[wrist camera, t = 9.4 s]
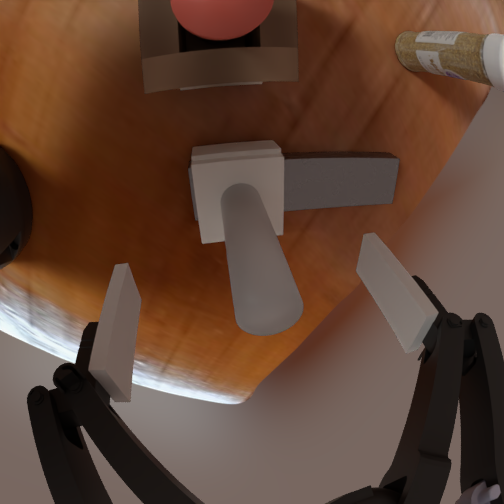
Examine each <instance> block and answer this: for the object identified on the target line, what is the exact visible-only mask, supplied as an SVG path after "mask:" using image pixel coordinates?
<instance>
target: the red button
mask: <svg viewBox="0 0 504 504" xmlns="http://www.w3.org/2000/svg"><path fill="white" fill-rule="evenodd" d="M170 2H171V8H172V11H173V13H174V15H175V17H176V19H177V20H178V22H179V23H180V24H181V25H182V26H183V27H184V28H185V29H186V30H187V31H189V32H190V33H192V34H194V35H196V36H197V37H198V38H199V39H200V40H202V41H204V42H206V43H210V44H221V43H224V42H227V41H229V40H230V39H235V38H238V37H241V36H243V35H245V34H247V33H249V32H251V31H252V30H254V29H255V28H256V27H257V26H259V25H260V24H261V23H262V22H263V21H264V20H265V19H266V17H267V16H268V15H269V13H270V11H271V9H272V6H273V2H274V0H170Z"/></svg>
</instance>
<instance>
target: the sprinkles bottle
mask: <svg viewBox="0 0 504 504" xmlns="http://www.w3.org/2000/svg"><path fill="white" fill-rule="evenodd" d="M395 51H396V54H397V56H398V59H399V60H400V62H401V64H402V65H403V66H405V67H406V68H407V69H409V70H411V71H415V72H419V71H422V72H430V73H433V74H438V75H443V76H449V77H454V78H459V79H463V80H470V81H475V82H478V83H482V84H486V85H490V86H493V87H495V88H496V89H498V90H499V91H502V92H504V35H502V34H494V33H493V34H490V35H489V34H487V35H483V34H475V33H467V32H455V31H424V32H412V31H405V32H403V33H401V34H400V35H399V36H398V37H397V40H396V43H395Z"/></svg>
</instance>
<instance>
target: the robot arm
mask: <svg viewBox="0 0 504 504" xmlns="http://www.w3.org/2000/svg"><path fill="white" fill-rule="evenodd" d="M31 229H32V205H31V199H30V195H29V191H28V188H27V185H26V182H25V180H24V178H23V175H22V173H21V171H20V170H19V168H18V166H17V165H16V163H15V162H14V160H13V159H12V158H11V157H10V156H9V154H8V153H7V152H6V151H4V150H3V149H2V148H1V147H0V269H2V268H4V267H5V266H7V265H8V264H10V263H11V262H12V261H13V260H14V259H15V258H16V257H17V256H18V255H19V253H20V252H21V251H22V249H23V248H24V246H25V245H26V243H27V241H28V239H29V237H30V233H31ZM356 272H357V274H358V275H359V277H360V278H361V280H362V281H363V283H364V284H365V286H366V288H367V289H368V291H369V292H370V294H371V295H372V297H373V299H374V300H375V302H376V303H377V305H378V306H379V308H380V310H381V311H382V313H383V315H384V317H385V318H386V320H387V321H388V323H389V324H390V326H391V328H392V330H393V331H394V333H395V335H396V337H397V338H398V340H399V342H400V344H401V345H402V347H403V349H404V350H405V352H406V354H407V353H409V352H412V351H415V350H418V348H419V347H420V345H421V343H422V342H423V344H424V345H425V348H424V350H423V351H422V353H421V354H420V356H419V358H418V360H420V359H421V357H422V359H421V365H420V370H419V374H418V379H417V383H416V387H415V391H414V395H413V399H412V403H411V407H410V410H409V414H408V417H407V421H406V424H405V427H404V430H403V434H402V437H401V440H400V443H399V446H398V449H397V451H396V455H395V457H394V460H393V462H392V465H391V467H390V468H389V470H388V471H387V473H386V474H385V475H384V477H383V479H382V481H381V483H380V485H379V487H378V488H371V486H367V487H365V488H362V489H360V490H357V491H354V492H351V493H348V494H345V495H343V496H341V497H338V498H336V499H333V500H332V501H329V502H328V503H326V504H440V501H441V498H442V495H443V492H444V489H445V486H446V483H447V480H448V476H449V473H450V469H451V460H450V459H449V458H448V451H449V447H450V443H451V438H452V433H453V429H454V424H455V419H456V413H457V406H458V400H459V403H460V419H461V468H460V483H461V493H462V495H461V496H460V498H459V499H458V500H457V501H456V503H455V504H504V360H503V356H502V352H501V348H500V344H499V341H498V337H497V334H496V330H495V327H494V324H493V321H492V319H491V318H490V317H489V316H488V315H486V314H484V313H477V314H476V315H475V317H474V318H473V320H462V319H461V318H460V317H459V316H458V315H456V314H454V313H448V312H447V311H446V310H445V308H444V307H443V305H442V304H441V303H440V301H439V300H438V299H437V298H436V296H435V295H434V294H433V293H432V291H431V290H430V289H429V288H428V286H427V285H426V284H425V282H424V281H423V280H422V279H420V278H419V277H417V276H411V275H410V274H409V273H408V272H407V270H406V269H405V268H404V267H403V266H402V264H401V263H400V262H399V261H398V260H397V258H396V257H395V256H394V254H393V253H392V252H391V251H390V250H389V249H388V247H387V246H386V245H385V244H384V243H383V242H382V240H381V239H380V238H379V237H378V236H377V235H376V234H375V233H366V234H363V240H362V245H361V249H360V254H359V259H358V263H357V268H356ZM141 301H142V300H141V297H140V295H139V292H138V289H137V287H136V284H135V281H134V278H133V276H132V273H131V270H130V267H129V264H128V263H124V264H116V265H115V267H114V270H113V273H112V277H111V280H110V283H109V287H108V290H107V293H106V297H105V300H104V304H103V308H102V312H101V315H100V319H99V322H89V324H88V325H87V326H86V328H85V329H84V331H83V335H82V338H81V342H80V346H79V347H80V348H79V350H78V354H77V359H76V363H75V364H72V363H64V364H62V365H60V366H59V367H58V368H57V369H56V371H55V372H54V375H53V382H54V385H55V386H56V387H57V388H56V389H53V390H49V391H48V390H47V389H46V388H45V387H44V386H36V387H34V388H33V389H31V391H30V392H29V394H28V397H27V404H28V411H29V416H30V421H31V426H32V430H33V435H34V439H35V443H36V447H37V450H38V454H39V458H40V462H41V465H42V468H43V471H44V475H45V478H46V480H47V484H48V486H49V489H50V492H51V495H52V497H53V500H54V502H55V504H113V503H112V501H111V499H110V497H109V495H108V493H107V491H106V489H105V487H104V485H103V483H102V481H101V479H100V476H99V474H98V472H97V470H96V467H95V465H94V463H93V460H92V458H91V455H90V453H89V450H88V448H87V445H86V442H85V440H84V437H83V434H82V432H81V428H80V426H82V425H83V427H84V428H85V430H86V431H87V433H88V434H89V436H90V437H91V439H92V440H93V442H94V443H95V445H96V446H97V447H98V449H99V450H100V452H101V453H102V454H103V456H104V457H105V458H106V460H107V461H108V462H109V464H110V465H111V466H112V467H113V469H114V470H115V471H116V473H117V474H118V475H119V476H120V477H121V478H122V480H123V481H124V482H125V483H126V485H127V486H128V487H129V488H130V489H131V490H132V491H133V493H134V494H135V495H136V496H137V497H138V498H139V499H140V500H141V501H142V502H143V503H144V504H204V503H203V502H202V501H201V500H200V499H198V498H197V497H196V496H195V495H194V494H193V493H191V492H190V491H189V490H188V489H187V488H186V487H185V486H184V485H183V484H181V483H180V482H179V481H178V480H177V479H176V478H175V477H174V476H173V475H172V474H171V473H170V472H169V471H168V470H166V468H164V466H163V465H162V464H161V463H160V462H159V461H158V460H157V459H156V458H155V457H154V456H153V455H152V454H151V453H150V452H149V451H148V450H147V448H146V447H145V446H144V445H143V444H142V443H141V442H140V441H139V440H138V438H137V437H136V436H135V435H134V434H133V433H132V431H131V430H130V429H129V428H128V426H127V425H126V424H125V423H124V422H123V420H122V419H121V418H120V417H119V415H118V414H117V413H116V412H115V410H114V409H113V408H112V407H111V405H110V397H111V398H112V399H113V400H114V401H115V402H130V399H131V384H132V373H133V363H134V353H135V344H136V336H137V328H138V321H139V314H140V307H141ZM476 353H477V354H476Z"/></svg>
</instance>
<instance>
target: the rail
mask: <svg viewBox="0 0 504 504" xmlns="http://www.w3.org/2000/svg"><path fill="white" fill-rule="evenodd" d="M281 154H282V155H283V156H284V211H294V210H305V209H318V208H331V207H345V206H359V205H376V204H392V202H393V197H394V191H395V186H396V180H397V174H398V167H399V160H400V159H399V158H398V157H396V156H394V155H393V154H391V153H386V152H297V153H281ZM191 162H192V161H189V166H188V172H189V179H190V187H191V194H192V201H193V208H194V215H195V221H196V220H198V213H197V206H196V199H195V192H194V184H193V176H192V168H191Z"/></svg>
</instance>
